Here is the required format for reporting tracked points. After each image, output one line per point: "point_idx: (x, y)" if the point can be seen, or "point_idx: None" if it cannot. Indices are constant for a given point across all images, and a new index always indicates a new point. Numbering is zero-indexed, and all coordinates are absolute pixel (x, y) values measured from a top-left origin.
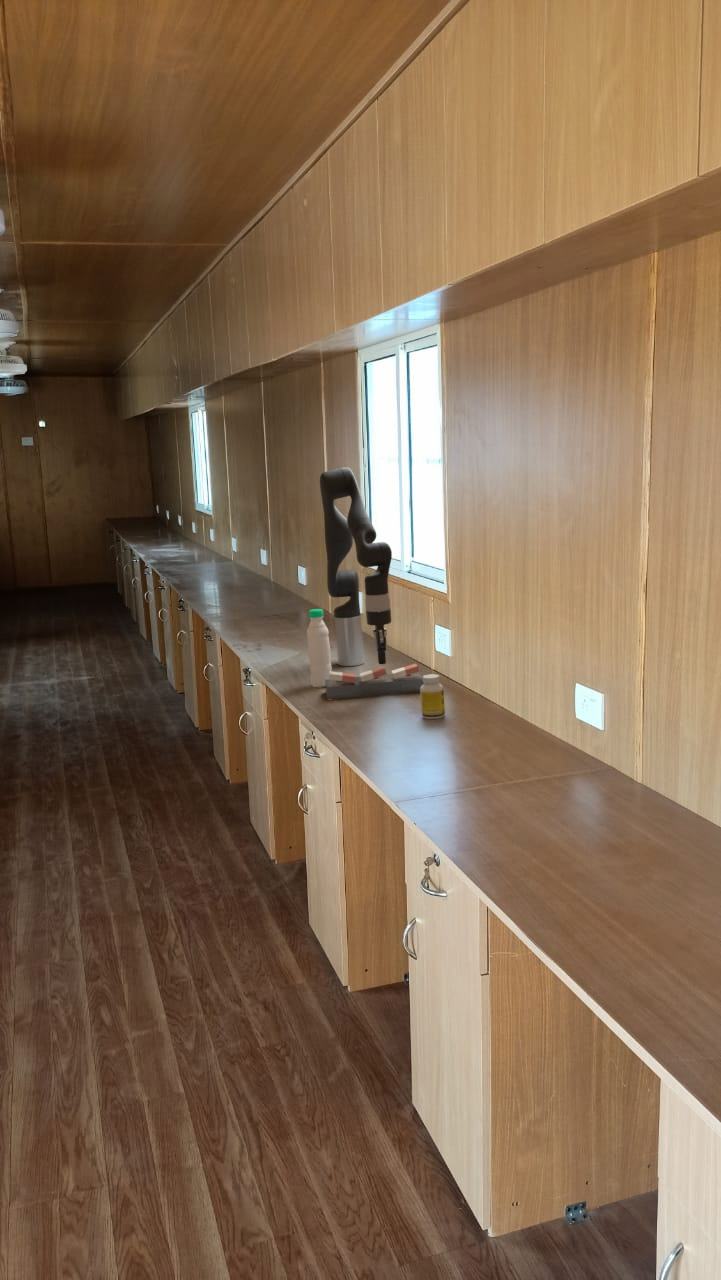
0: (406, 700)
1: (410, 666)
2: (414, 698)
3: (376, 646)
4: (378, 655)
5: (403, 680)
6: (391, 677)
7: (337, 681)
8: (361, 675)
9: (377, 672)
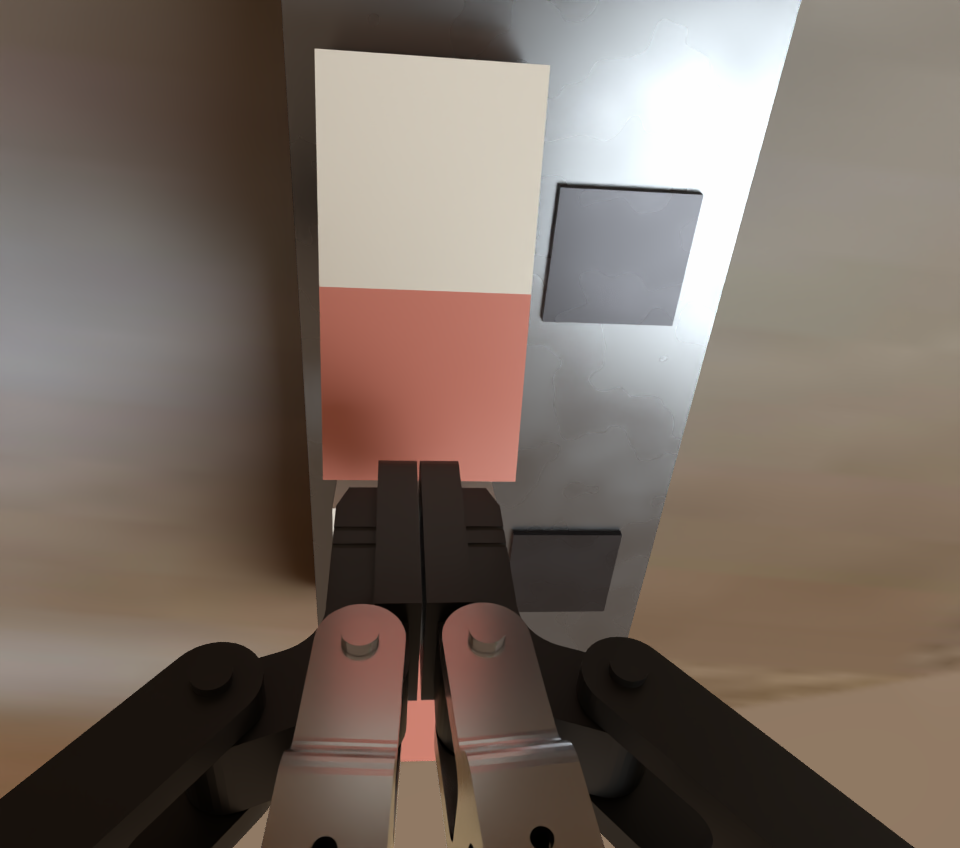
0: (40, 445)
1: (418, 704)
2: (105, 508)
3: (609, 674)
4: (373, 565)
5: (313, 541)
6: None
7: None
8: (368, 83)
9: (321, 355)
